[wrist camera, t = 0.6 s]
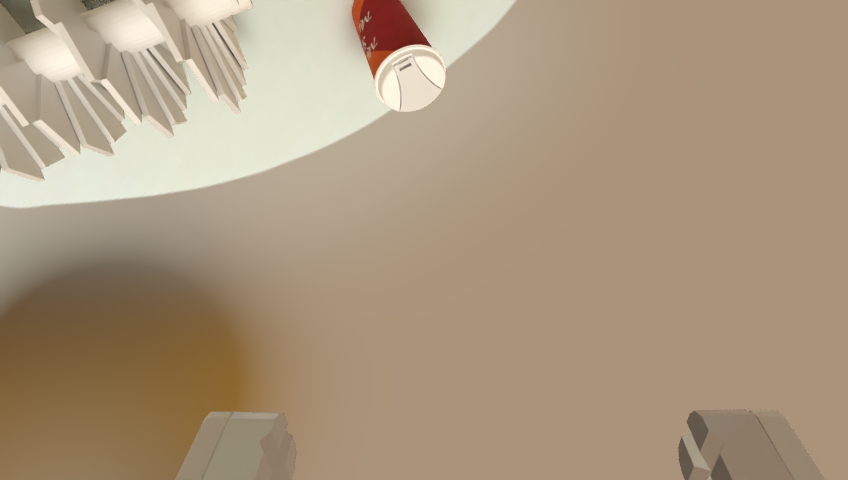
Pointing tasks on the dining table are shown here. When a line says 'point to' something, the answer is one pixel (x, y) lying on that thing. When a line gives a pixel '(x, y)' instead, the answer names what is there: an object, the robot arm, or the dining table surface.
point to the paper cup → (398, 55)
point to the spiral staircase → (109, 73)
